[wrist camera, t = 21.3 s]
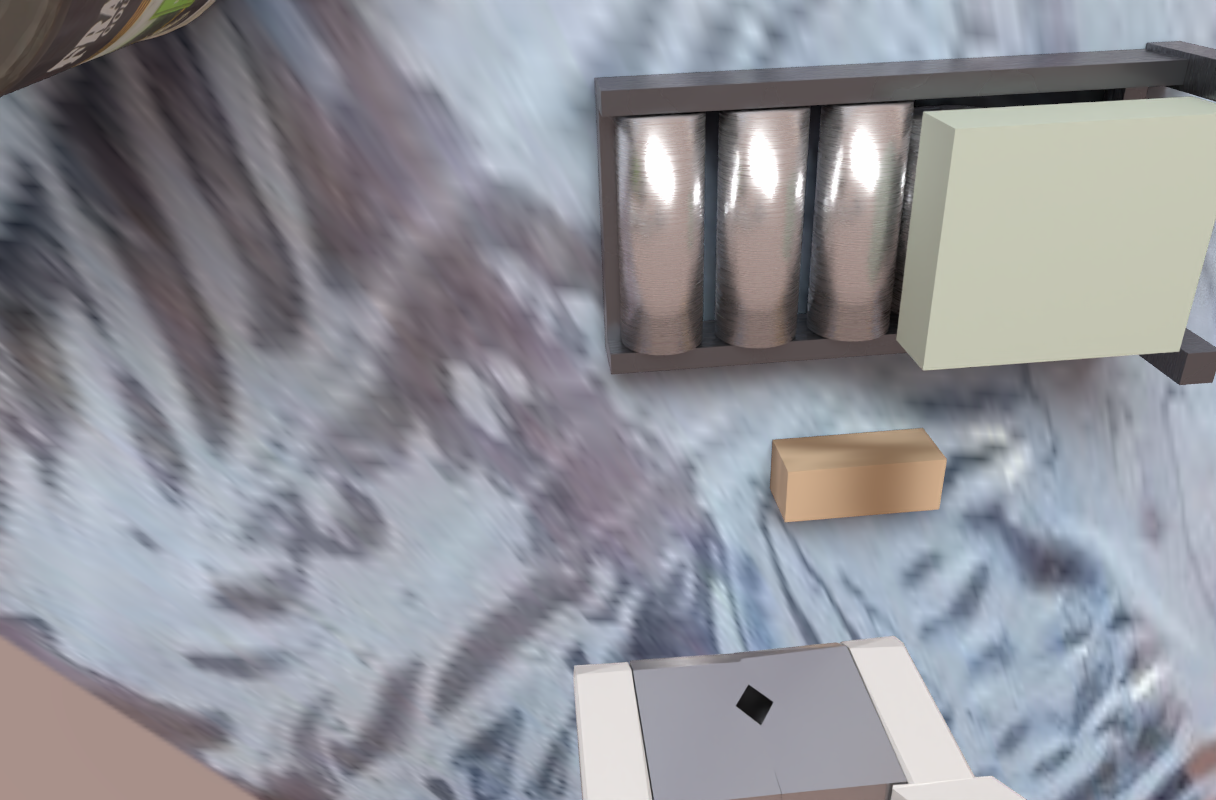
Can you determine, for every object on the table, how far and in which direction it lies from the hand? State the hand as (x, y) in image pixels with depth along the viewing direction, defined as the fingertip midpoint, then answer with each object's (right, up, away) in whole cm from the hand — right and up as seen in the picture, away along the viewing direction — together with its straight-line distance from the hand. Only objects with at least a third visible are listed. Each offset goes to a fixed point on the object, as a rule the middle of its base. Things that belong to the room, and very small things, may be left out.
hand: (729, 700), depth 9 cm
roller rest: (+9, 0, +32) cm, 33 cm away
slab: (+13, +9, +24) cm, 29 cm away
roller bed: (+9, +10, +26) cm, 29 cm away
